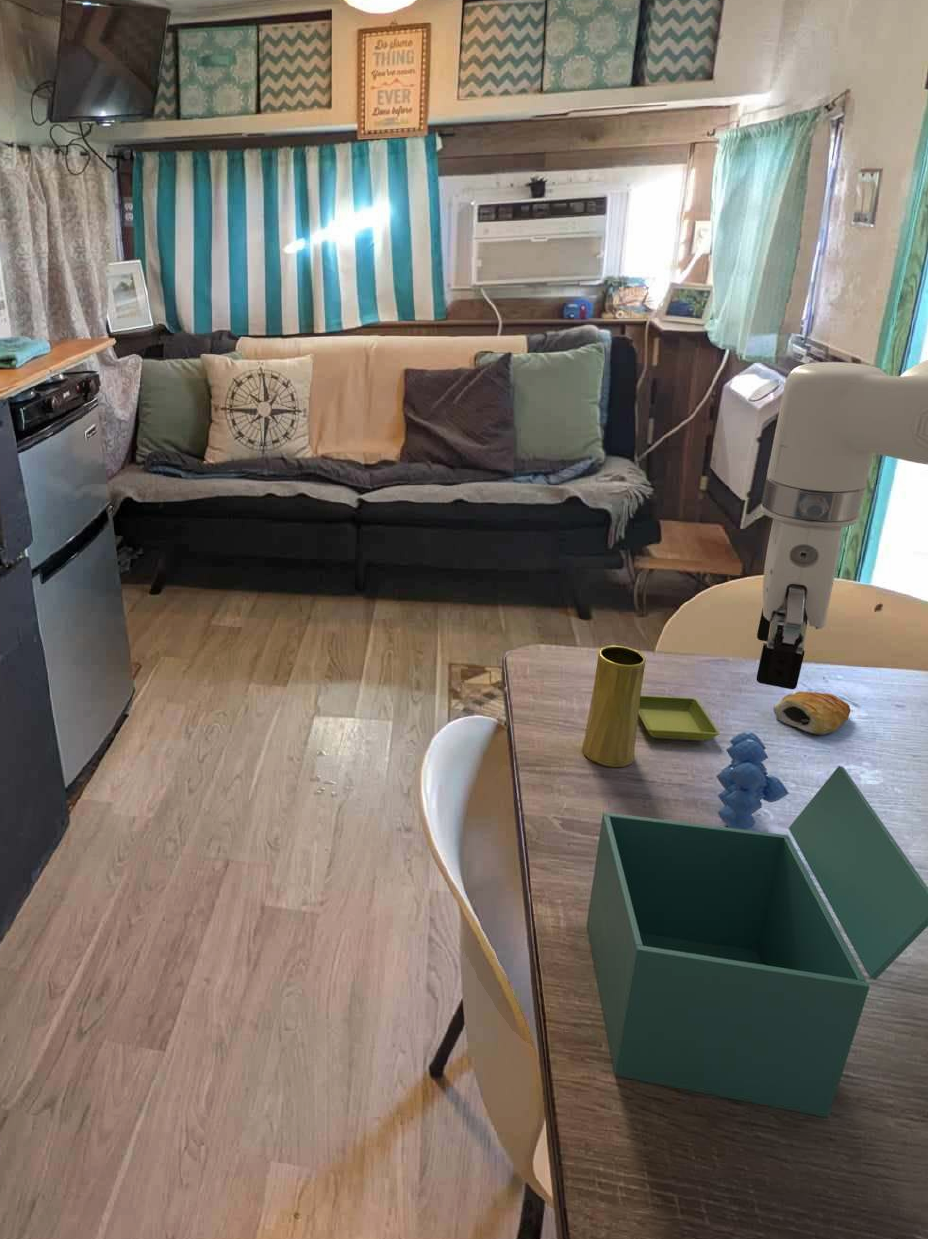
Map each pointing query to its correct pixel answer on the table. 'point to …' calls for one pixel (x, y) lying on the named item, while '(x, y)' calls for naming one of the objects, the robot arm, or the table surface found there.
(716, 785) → the table surface
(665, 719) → the olive green shallow tray
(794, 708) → the pastry
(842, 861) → the flap
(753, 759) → the grapes
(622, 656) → the vase
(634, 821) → the carton
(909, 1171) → the table surface
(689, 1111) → the table surface
